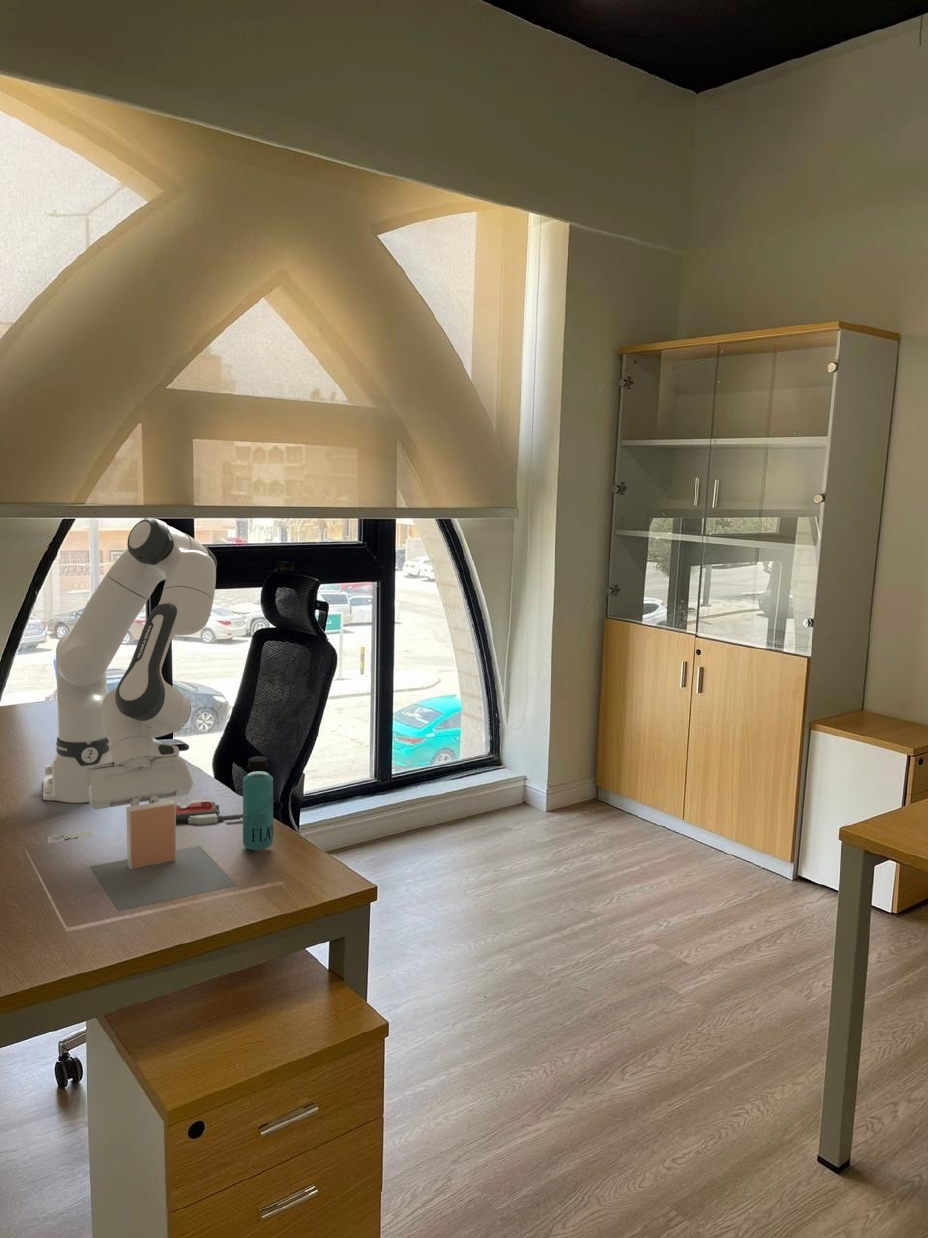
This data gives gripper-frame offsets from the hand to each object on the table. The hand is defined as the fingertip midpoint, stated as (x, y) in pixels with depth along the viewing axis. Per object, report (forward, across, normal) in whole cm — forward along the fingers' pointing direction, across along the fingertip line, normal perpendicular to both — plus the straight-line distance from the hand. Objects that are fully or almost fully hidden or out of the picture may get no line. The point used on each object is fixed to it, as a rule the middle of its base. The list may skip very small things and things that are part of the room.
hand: (148, 819), depth 195 cm
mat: (+13, 0, -1) cm, 13 cm away
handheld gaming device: (-4, -12, +16) cm, 21 cm away
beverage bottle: (+11, +21, +2) cm, 23 cm away
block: (+8, 0, +3) cm, 9 cm away
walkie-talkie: (-5, +17, +18) cm, 25 cm away
